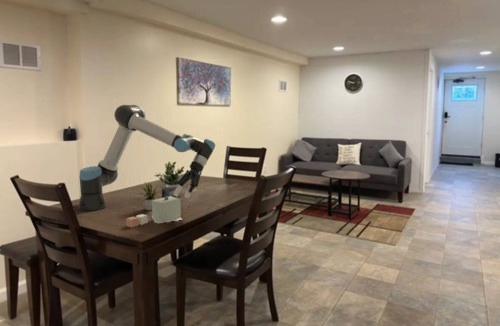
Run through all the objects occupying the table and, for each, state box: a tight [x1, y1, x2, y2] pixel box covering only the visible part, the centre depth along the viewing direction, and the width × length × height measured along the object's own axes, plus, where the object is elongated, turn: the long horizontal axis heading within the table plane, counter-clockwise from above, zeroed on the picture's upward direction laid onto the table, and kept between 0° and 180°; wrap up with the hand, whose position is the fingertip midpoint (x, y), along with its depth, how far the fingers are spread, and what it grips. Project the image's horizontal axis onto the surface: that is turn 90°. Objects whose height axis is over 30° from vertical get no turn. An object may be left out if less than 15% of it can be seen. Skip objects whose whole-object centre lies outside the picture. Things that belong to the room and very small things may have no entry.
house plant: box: [138, 181, 159, 211], centre depth 210 cm, size 14×14×16 cm
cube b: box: [125, 216, 139, 228], centre depth 179 cm, size 4×4×4 cm
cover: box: [151, 196, 182, 222], centre depth 191 cm, size 12×8×11 cm
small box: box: [161, 186, 181, 199], centre depth 220 cm, size 11×6×10 cm, turn 106°
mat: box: [151, 216, 183, 224], centre depth 192 cm, size 14×13×1 cm
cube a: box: [135, 213, 148, 226], centre depth 184 cm, size 4×4×4 cm
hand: (180, 196), depth 200 cm, fingers open, 13 cm apart
